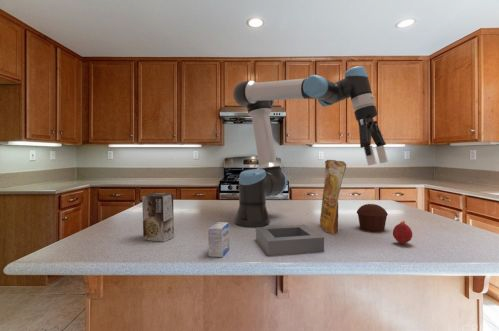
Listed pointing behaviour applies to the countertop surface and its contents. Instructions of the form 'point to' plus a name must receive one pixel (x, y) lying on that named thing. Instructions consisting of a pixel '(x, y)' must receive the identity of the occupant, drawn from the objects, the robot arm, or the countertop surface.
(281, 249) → the frame
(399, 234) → the red rounded lump
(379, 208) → the muffin
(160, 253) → the countertop surface
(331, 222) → the pancake mix bag
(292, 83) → the robot arm
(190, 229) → the countertop surface
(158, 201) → the coffee box
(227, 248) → the medicine box
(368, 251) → the countertop surface
